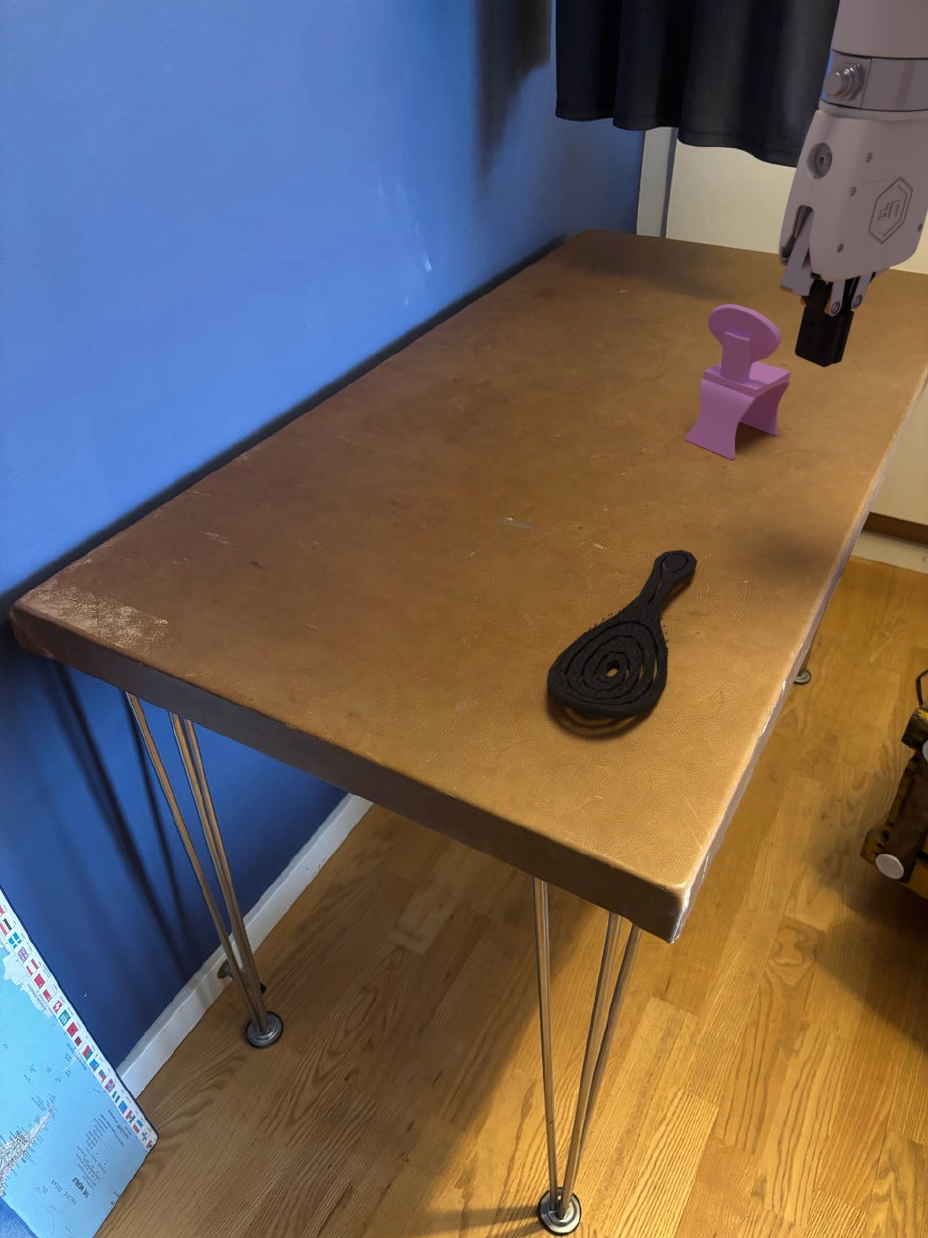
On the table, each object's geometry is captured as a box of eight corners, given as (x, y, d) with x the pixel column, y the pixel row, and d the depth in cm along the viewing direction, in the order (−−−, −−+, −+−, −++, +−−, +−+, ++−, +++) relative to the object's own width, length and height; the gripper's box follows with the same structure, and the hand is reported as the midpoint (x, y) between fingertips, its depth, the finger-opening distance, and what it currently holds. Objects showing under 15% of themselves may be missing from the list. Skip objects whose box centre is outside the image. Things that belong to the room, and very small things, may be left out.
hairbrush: (735, 544, 79) (635, 714, 61) (728, 579, 81) (628, 753, 63) (644, 519, 82) (523, 675, 64) (639, 554, 84) (521, 714, 66)
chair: (787, 436, 100) (820, 300, 90) (741, 463, 95) (770, 323, 86) (724, 411, 105) (749, 279, 95) (676, 436, 100) (697, 300, 91)
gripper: (854, 106, 53) (786, 401, 64) (1009, 80, 59) (921, 353, 70) (757, 87, 58) (710, 364, 69) (909, 66, 64) (842, 323, 75)
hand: (817, 358), depth 70 cm, fingers closed
